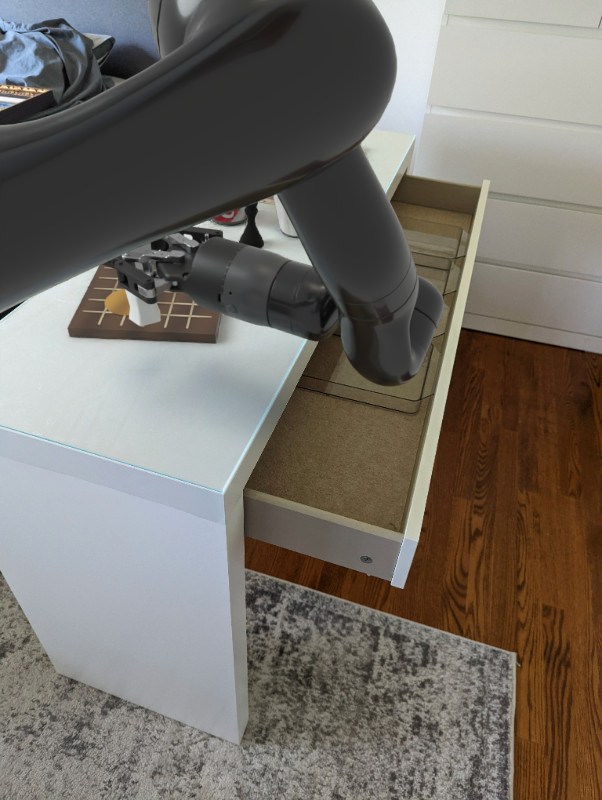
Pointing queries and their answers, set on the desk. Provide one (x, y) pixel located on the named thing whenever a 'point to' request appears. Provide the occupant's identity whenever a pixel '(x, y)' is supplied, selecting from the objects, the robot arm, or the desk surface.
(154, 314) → the perfume bottle
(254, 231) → the chess piece
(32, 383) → the desk surface
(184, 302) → the grid board
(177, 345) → the desk surface
